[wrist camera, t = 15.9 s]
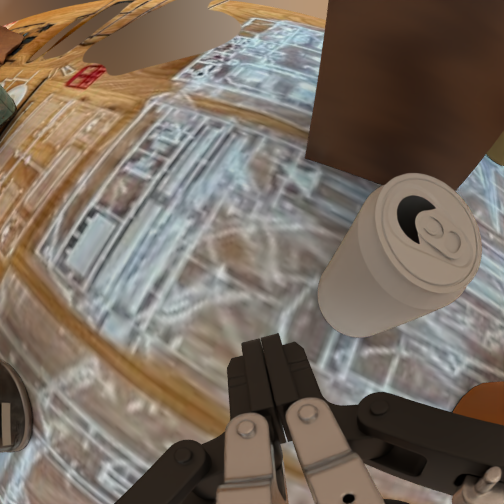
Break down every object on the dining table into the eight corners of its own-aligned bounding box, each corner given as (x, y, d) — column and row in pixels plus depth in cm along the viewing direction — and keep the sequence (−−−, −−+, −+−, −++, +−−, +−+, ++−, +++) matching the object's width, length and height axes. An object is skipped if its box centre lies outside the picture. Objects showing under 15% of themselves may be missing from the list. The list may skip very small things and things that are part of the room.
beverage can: (344, 243, 24) (399, 142, 13) (406, 288, 22) (499, 220, 11) (298, 306, 22) (336, 236, 11) (366, 355, 20) (463, 332, 9)
